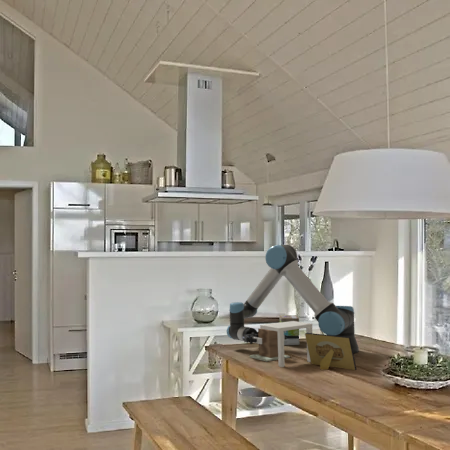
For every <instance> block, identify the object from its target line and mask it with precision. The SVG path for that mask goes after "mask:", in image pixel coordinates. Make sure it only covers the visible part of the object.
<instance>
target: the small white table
mask: <svg viewBox="0 0 450 450" xmlns="http://www.w3.org/2000/svg"><path fill="white" fill-rule="evenodd" d="M259 327H260V328H262V329H267V330H273V331H277V334H278V365H277V366H278V367H279V368H284V367H285V359H286V358H285V359H284V355H285V345H284V331H287V330H294V329H299V330H302V329H306V330H305V331H306V332H305V333H313V323H309V322H302V321H299V322H297V321H289V322H281V323H280V322H274V323H267V324H260V325H259ZM260 328H259V329H260ZM306 359H307V360H306V361H307V362H308V363H311V360H310V355H309V351H308V346H307V345H306Z"/></svg>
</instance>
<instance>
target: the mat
mask: <svg viewBox="0 0 450 450" xmlns="http://www.w3.org/2000/svg"><path fill="white" fill-rule="evenodd" d="M249 358H252V359H254V360H258V361H259V360H260V361H262V362H271V361H277V360H278V357H273V358H268V357H264V356H260V355H259V353H257V354H250V355H249ZM284 359H290V355H286V354H284Z"/></svg>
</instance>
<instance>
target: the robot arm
mask: <svg viewBox="0 0 450 450" xmlns="http://www.w3.org/2000/svg"><path fill="white" fill-rule="evenodd" d="M264 258H265V262H266V265H267V266H268V267H269V270H268V271H267V273H266V274H265V275H264V276H263V277H262V279H261V280H260V282H259V283H258V284H257V285H256V287H255V289H254V290H253V292H252V293H251V294H250V295H249V297H248V298H247V300H246V301H245V302H241V301H239V302H238V301H237V302H236V301H235V302H231V303H229V310H228V311H229V325H228V326H227V328H226V335H227V336H228V338H230V339H233V340H235V341H240V342H241V341H242V342H244V343H247V344H248V343H250V345H252V344H253V343H254V344H258V345H259V344H262V338H258V331H257V329H255V328H254V327H249V326H245V319H249V318H252V317H254V316H256V314H257V313H258V309H259V307H260V306H261V305H262V304H263V302H264V301H265V300H266V299H267V297H268V296H269V295H270V294H271V292H272V291H273V289H274V288H275V287H276V285H277V284H278V283H279V282H280V281H281V279H282V278H283V277H285V278H286V280H287V281H288V282H289V284H291V286H292V287H293V289H295V291H296V292H297V293H298V294H299V296H300V297H301V298H302V299H303V300H304V302H305V303H306V304H307V305H308V306H309V308H310V309H311V310H312V312H313V313H314V319H315V320H316V322H318V328H319V330H320V331H321V332H322V334H324V335H333V336H343V337H350V339H351V344H352V349H353V354H357V353H359V350H360V349H359V343H358V342H357V341H358V340H357V338H356V334H355V309H354V307H353V306H351V305H335V304H334V302H330V301H328V299H326V297H325V295H323V293H321V291H320V290H319V289H318V288H317V287H316V286H315V284H314V283H313V282H312V281H311V280H310V278H309V277H308V276H307V274H306V273H305V271H303V269H301V268H300V266H299V265H298V264H299V260H298V253H297V250H296V249H295V248H294V247H293V246H292V245H290V244H282V245H281V244H276V245H273V246H271V247H269V248H268V249H267V250H266V252H265V257H264ZM284 341H285V337H284Z"/></svg>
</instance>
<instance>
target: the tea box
mask: <svg viewBox="0 0 450 450" xmlns="http://www.w3.org/2000/svg"><path fill="white" fill-rule="evenodd" d="M289 321H297V322H300V318H299V317H298V315H296V314H292V315H291V314H283V315H282V314H281V315H279V321H278V322H279V323H281V322H289ZM284 337H285V341H284V346H299V345H300V329H294V330H287V331H284Z"/></svg>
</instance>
